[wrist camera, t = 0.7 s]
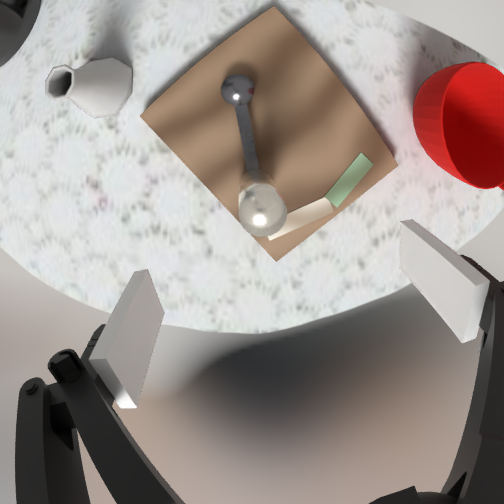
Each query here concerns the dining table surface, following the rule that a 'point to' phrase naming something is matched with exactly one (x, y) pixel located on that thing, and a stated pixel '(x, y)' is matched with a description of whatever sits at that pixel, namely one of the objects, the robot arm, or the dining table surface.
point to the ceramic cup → (464, 122)
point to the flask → (92, 86)
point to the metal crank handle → (253, 168)
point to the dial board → (274, 128)
